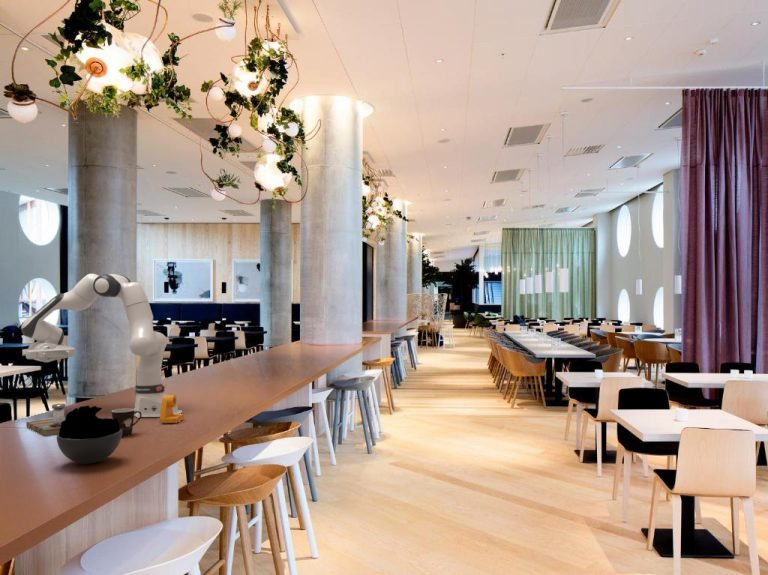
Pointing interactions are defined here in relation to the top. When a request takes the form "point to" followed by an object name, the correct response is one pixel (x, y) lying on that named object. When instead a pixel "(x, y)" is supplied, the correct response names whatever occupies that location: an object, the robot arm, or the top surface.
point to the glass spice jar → (58, 414)
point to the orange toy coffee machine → (169, 410)
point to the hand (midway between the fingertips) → (56, 354)
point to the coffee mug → (125, 419)
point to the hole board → (43, 427)
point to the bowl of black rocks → (88, 435)
